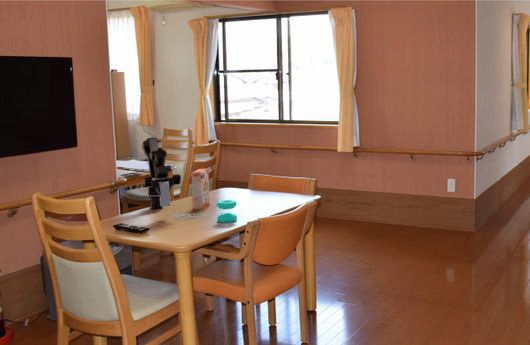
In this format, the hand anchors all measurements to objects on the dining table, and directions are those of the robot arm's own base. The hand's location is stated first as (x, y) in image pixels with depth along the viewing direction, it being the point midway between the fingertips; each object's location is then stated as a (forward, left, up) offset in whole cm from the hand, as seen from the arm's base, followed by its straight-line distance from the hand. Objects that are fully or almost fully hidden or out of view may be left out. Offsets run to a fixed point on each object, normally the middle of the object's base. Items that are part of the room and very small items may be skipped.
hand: (164, 193), depth 328 cm
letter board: (-2, +12, -13) cm, 18 cm away
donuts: (+16, +28, -14) cm, 35 cm away
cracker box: (-23, +22, -14) cm, 35 cm away
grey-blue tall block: (-1, 0, -6) cm, 6 cm away
